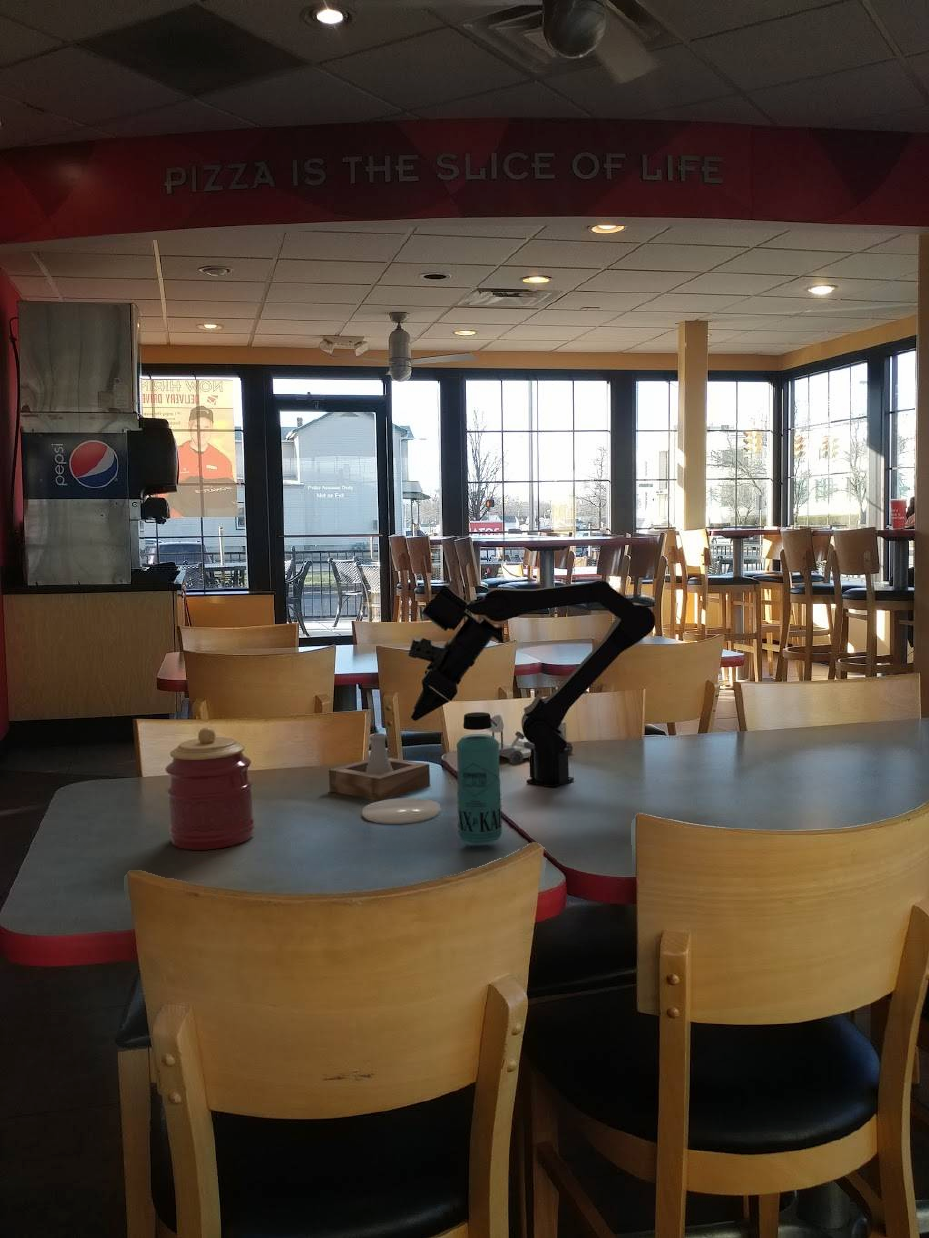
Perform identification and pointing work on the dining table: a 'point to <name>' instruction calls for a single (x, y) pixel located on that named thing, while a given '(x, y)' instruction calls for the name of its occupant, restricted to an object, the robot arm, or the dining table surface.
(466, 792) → the beverage bottle
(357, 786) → the walnut collar
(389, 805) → the ceramic plate
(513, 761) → the toy car
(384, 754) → the flask
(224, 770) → the canister
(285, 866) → the dining table surface
